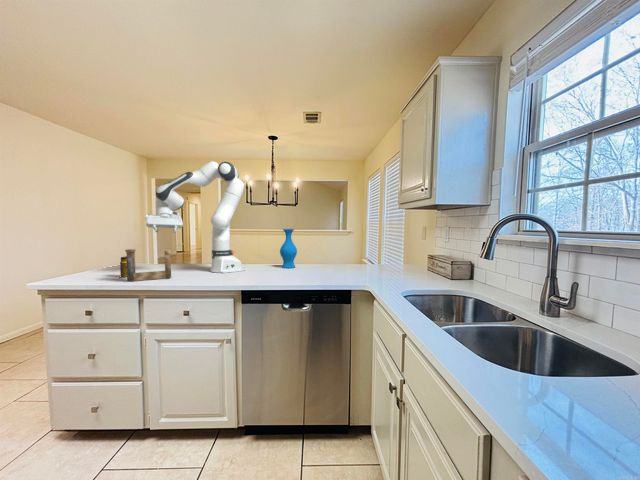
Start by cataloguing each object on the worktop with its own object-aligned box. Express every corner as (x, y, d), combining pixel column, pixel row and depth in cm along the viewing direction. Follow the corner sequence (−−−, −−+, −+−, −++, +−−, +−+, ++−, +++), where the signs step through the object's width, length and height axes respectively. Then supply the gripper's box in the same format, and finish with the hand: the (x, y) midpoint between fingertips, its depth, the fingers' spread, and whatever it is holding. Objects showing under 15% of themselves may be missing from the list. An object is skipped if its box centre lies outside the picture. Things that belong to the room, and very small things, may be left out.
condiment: (133, 277, 167) (132, 257, 166) (115, 278, 162) (115, 258, 162) (133, 275, 173) (132, 255, 172) (116, 276, 168) (115, 256, 168)
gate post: (136, 279, 161) (135, 249, 160) (136, 280, 157) (135, 249, 156) (127, 279, 159) (126, 249, 158) (126, 281, 155) (125, 250, 154)
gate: (128, 281, 153) (127, 250, 152) (128, 280, 156) (127, 250, 155) (171, 277, 164) (170, 249, 163) (171, 276, 166) (170, 248, 165)
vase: (276, 267, 208) (276, 229, 206) (290, 265, 216) (290, 228, 214) (286, 269, 199) (286, 229, 197) (300, 267, 207) (300, 229, 205)
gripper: (145, 211, 174) (146, 227, 166) (182, 213, 186) (184, 229, 178) (144, 218, 178) (145, 234, 170) (180, 219, 189) (182, 235, 182)
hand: (165, 231), depth 174 cm, fingers open, 8 cm apart
